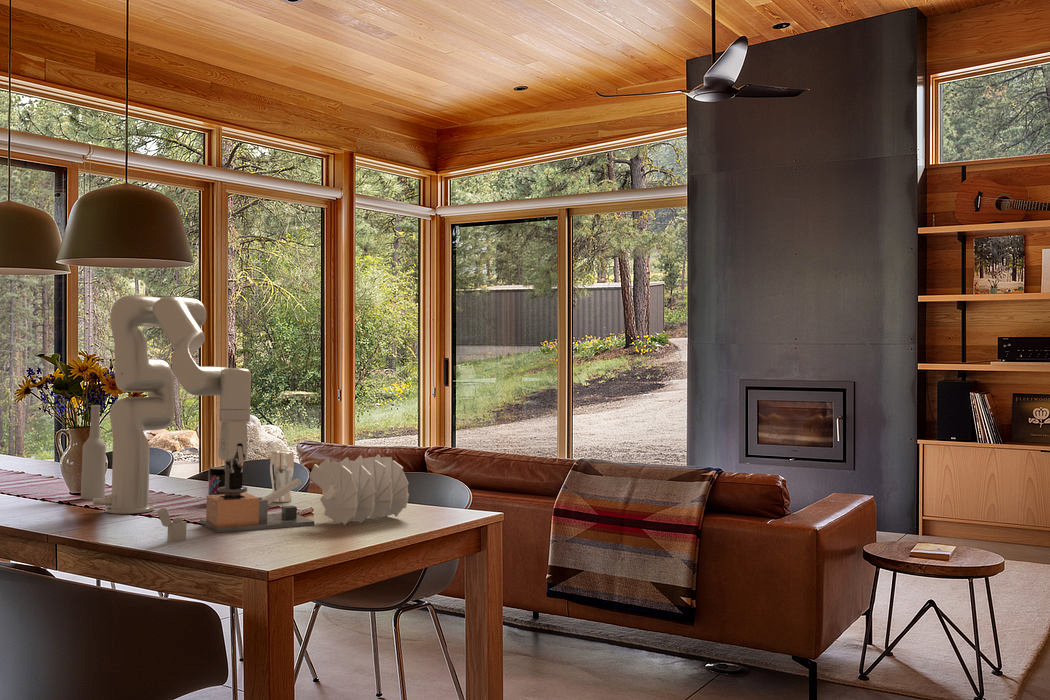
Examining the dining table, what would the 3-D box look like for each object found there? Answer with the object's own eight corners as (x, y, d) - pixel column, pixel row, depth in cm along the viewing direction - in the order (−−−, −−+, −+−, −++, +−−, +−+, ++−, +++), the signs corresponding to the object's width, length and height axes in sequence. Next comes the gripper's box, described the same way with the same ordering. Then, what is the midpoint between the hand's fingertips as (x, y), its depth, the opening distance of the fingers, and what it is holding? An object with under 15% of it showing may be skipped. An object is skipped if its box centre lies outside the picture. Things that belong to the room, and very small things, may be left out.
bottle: (95, 500, 276) (98, 406, 277) (75, 499, 278) (78, 405, 278) (109, 497, 283) (112, 405, 283) (90, 496, 284) (93, 404, 285)
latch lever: (262, 507, 241) (259, 503, 240) (259, 506, 243) (257, 501, 242) (302, 483, 247) (299, 479, 246) (299, 482, 249) (296, 478, 248)
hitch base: (216, 533, 228) (217, 502, 228) (199, 523, 241) (200, 494, 241) (314, 525, 241) (315, 496, 242) (293, 516, 255) (294, 488, 255)
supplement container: (208, 501, 279) (209, 466, 279) (232, 501, 280) (233, 466, 281) (206, 504, 272) (207, 469, 272) (230, 504, 274) (231, 469, 274)
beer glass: (267, 500, 283) (268, 451, 283) (290, 499, 286) (291, 450, 286) (271, 503, 277) (272, 453, 277) (294, 502, 280) (296, 452, 280)
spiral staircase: (404, 532, 257) (336, 539, 237) (366, 498, 267) (297, 503, 247) (429, 474, 253) (361, 477, 233) (389, 443, 263) (321, 443, 243)
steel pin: (222, 518, 233) (223, 466, 233) (214, 514, 239) (216, 463, 239) (250, 516, 237) (251, 465, 237) (241, 512, 243) (243, 462, 243)
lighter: (181, 538, 220) (182, 504, 220) (186, 539, 219) (187, 505, 219) (155, 543, 214) (156, 508, 214) (160, 544, 213) (161, 509, 213)
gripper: (211, 414, 243) (209, 484, 243) (229, 418, 229) (227, 492, 229) (240, 414, 247) (238, 483, 247) (259, 417, 233) (257, 490, 233)
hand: (232, 486), depth 238 cm, fingers closed on steel pin, 3 cm apart
